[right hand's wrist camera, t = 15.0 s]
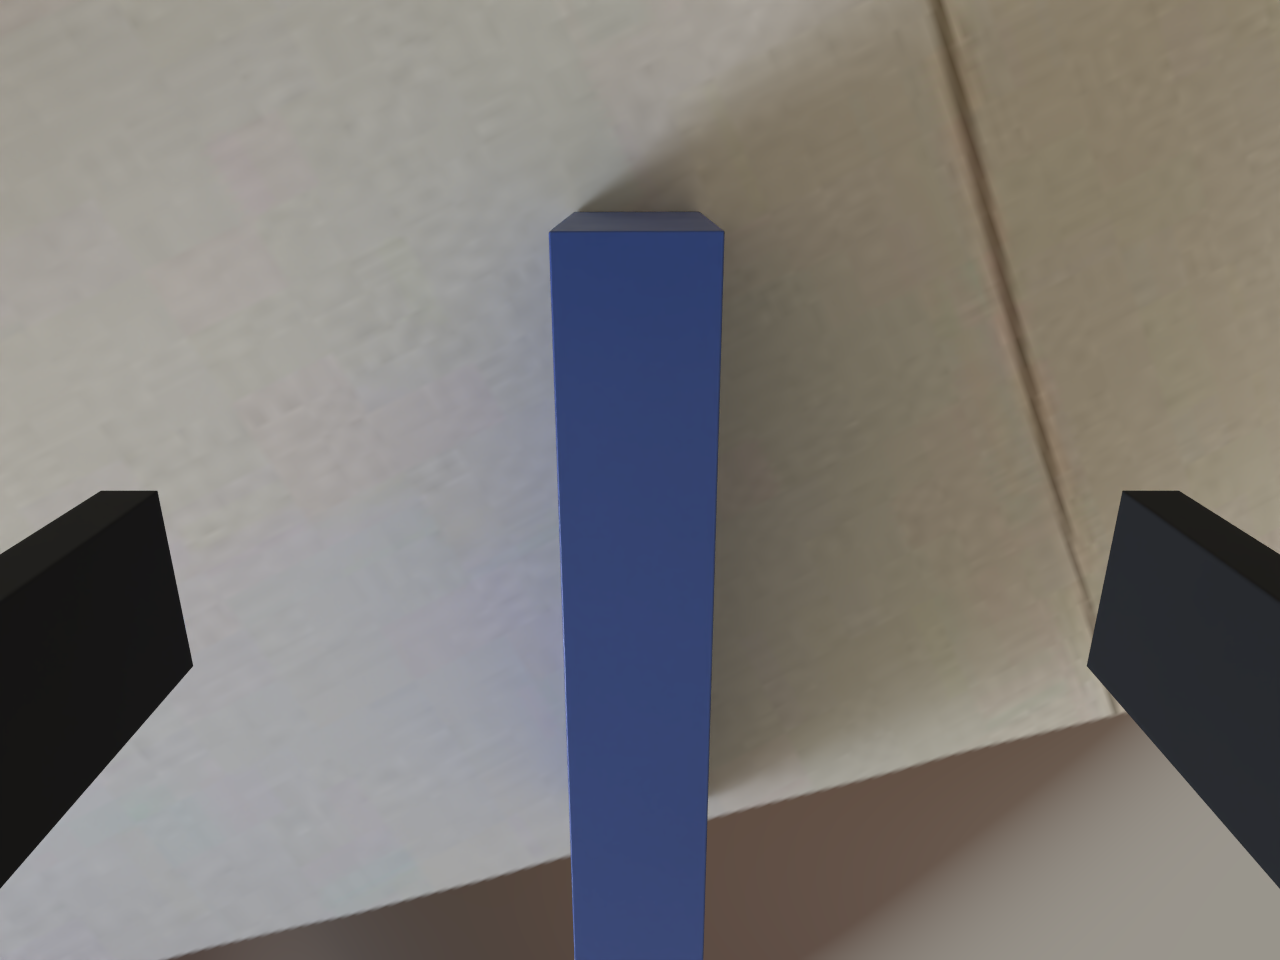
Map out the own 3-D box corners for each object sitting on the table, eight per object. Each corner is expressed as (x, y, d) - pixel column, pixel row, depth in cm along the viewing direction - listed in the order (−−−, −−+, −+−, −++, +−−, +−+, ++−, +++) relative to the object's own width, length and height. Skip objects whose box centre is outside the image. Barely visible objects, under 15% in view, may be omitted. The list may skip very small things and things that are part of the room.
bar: (573, 211, 32) (548, 231, 23) (700, 211, 32) (724, 230, 23) (589, 806, 40) (575, 988, 31) (687, 806, 40) (702, 987, 31)
